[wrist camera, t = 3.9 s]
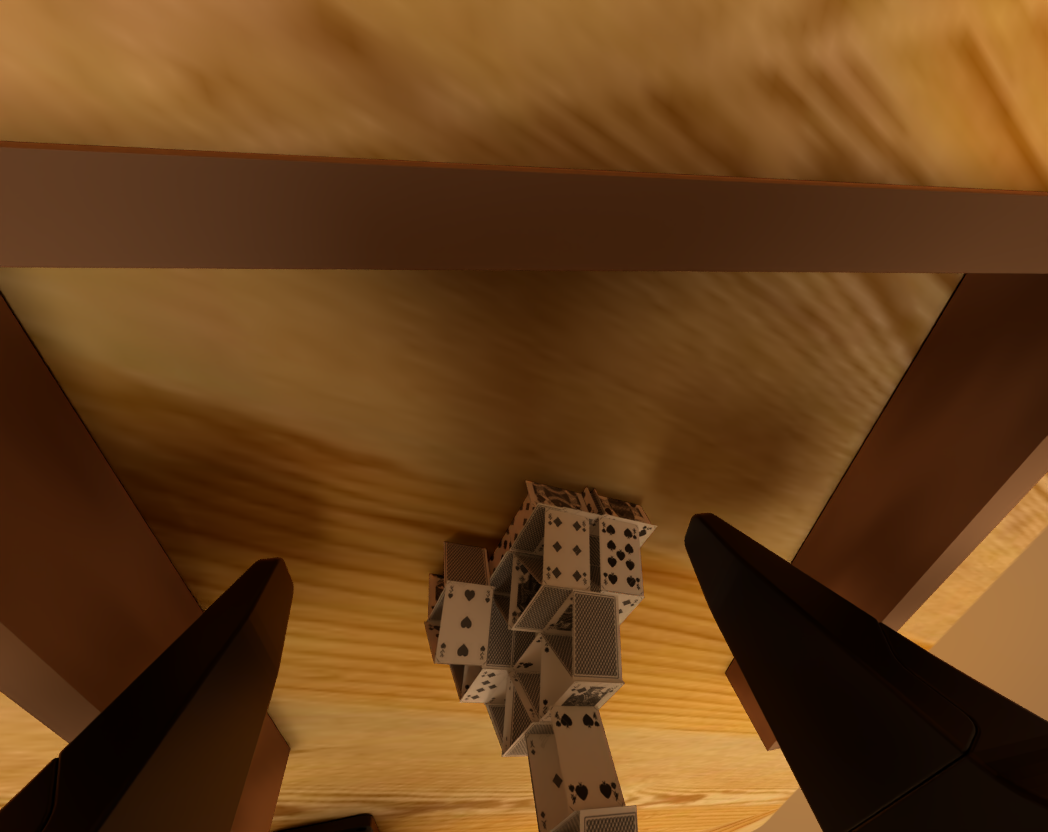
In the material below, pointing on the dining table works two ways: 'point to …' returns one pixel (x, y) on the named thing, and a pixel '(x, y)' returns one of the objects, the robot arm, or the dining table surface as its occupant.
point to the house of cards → (547, 643)
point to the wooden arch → (498, 244)
